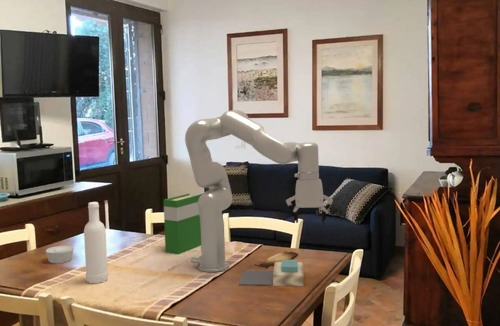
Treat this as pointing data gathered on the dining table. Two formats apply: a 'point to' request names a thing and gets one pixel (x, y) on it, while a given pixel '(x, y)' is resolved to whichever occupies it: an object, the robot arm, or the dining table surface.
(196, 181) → the robot arm
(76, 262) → the dining table surface
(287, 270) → the tile
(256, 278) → the mat
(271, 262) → the parchment
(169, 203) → the hardback book
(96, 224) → the bottle
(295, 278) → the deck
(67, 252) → the ramekin
